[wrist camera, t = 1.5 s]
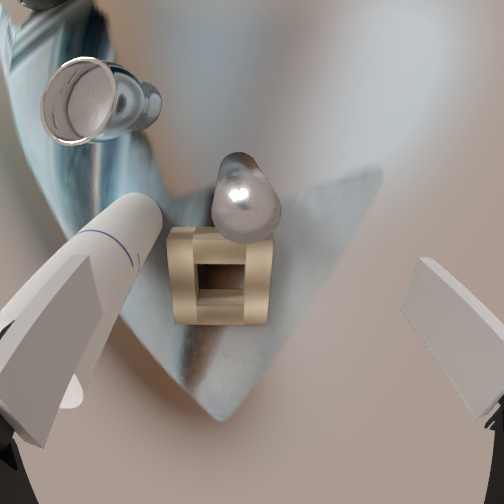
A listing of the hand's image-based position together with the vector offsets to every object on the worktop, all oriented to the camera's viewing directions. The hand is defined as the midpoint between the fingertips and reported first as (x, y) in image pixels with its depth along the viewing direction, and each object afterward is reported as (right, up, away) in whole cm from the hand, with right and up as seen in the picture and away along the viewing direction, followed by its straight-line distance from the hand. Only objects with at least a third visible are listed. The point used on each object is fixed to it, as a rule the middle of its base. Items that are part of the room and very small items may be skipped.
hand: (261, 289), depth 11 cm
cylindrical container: (-15, +5, +24) cm, 28 cm away
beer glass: (-14, +18, +18) cm, 29 cm away
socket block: (-4, -1, +27) cm, 28 cm away
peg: (-2, +11, +22) cm, 25 cm away
